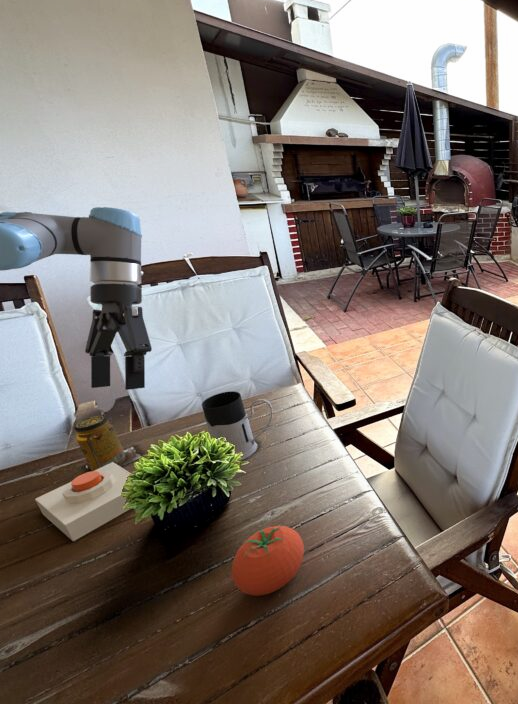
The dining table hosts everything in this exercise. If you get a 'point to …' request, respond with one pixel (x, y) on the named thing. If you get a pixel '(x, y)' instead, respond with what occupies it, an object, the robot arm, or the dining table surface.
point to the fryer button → (86, 481)
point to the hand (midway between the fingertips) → (117, 388)
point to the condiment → (100, 443)
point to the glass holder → (231, 421)
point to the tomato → (267, 560)
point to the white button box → (86, 503)
